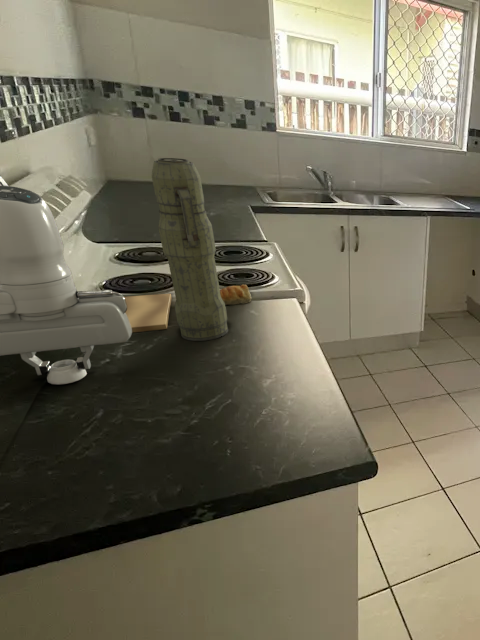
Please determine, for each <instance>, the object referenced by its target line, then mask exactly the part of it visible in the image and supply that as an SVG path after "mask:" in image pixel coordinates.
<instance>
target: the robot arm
mask: <svg viewBox="0 0 480 640" xmlns="http://www.w3.org/2000/svg"><path fill="white" fill-rule="evenodd" d="M64 250H65V246H64V243H63V238H62V235H61V232H60V229H59V227H58V224H57V220H56V219H55V217H54V214H53V212H52V210H51V208H50V206H49V205H48V204H47V202H46V201H45V199H44V198H43V197H42V196H41V195H39V194H38V193H36V192H34V191H32V190H29V189H26V188H22V187H17V186H12V185H9V184H8V183H7V182H6V181H5V179H4V178H3V177H2V176H1V175H0V356H10V355H20V358H21V360H22V361H24V362H25V363H27V364H28V365H29V366H31V367H33V368H34V369H35V372H36V375H37V376H45V375H48V374H49V371H50V369H51V362H50V360H45V361H43V360H42V359H41V358H39V357H38V356H36V354H37V352H38V353H39V352H49V351H59V350H65V349H75V348H79V349H80V352H81V353H84V354H83V356H79V357H77V358H76V360H75V362H76V365H77V366H78V370H86V371H87V370H90V369H91V367H92V364H91V359H90V356H91V354H92V352H93V350H94V348H95V346H103V345H104V346H105V345H113V344H123V343H127V342H128V341H129V340H130V338H131V337H132V334H133V333H132V328H131V325H130V322H129V319H128V317H127V315H126V311H127V304H126V300H125V298H124V297H125V296H124V295H123V294H121V293H119V292H117V291H113V290H112V289H101V290H83V291H82V290H79V291H78V290H77V287H76V283H75V280H74V276H73V273H72V270H71V268H70V266H69V265H68V264H67V262H66V260H65V257H64Z"/></svg>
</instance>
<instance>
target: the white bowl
mask: <svg viewBox="0 0 480 640" xmlns="http://www.w3.org/2000/svg"><path fill="white" fill-rule="evenodd" d="M50 366H51V369H50V371H49V374H47V376H46V380H47V383H49V384H51V385H69V384H72V383H75V382H78V381H80V380H82V379H83V378H85V377H86V376H87V374H88V373H87V369H86V370H78V366H77V365H76V360H74V359H62V360H57V361H55V362H54V363H52V364H50Z"/></svg>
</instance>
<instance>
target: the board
mask: <svg viewBox="0 0 480 640" xmlns="http://www.w3.org/2000/svg"><path fill="white" fill-rule="evenodd" d="M124 298H125V300H126V304H127V311H126V315H127V317H128V319H129V322H130V325H131V328H132V334H133V333H141V332H143V333H144V332H152V331H160V330H161V331H162V330H168V324H169V316H170V312H171V305H172V299H173V297H172V294H171V293H159V294H158V293H157V294H145V295H144V294H143V295H129V296H124Z"/></svg>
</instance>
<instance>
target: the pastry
mask: <svg viewBox="0 0 480 640" xmlns="http://www.w3.org/2000/svg"><path fill="white" fill-rule="evenodd" d="M220 295H221V298H222V300H223V301H224V303H225V306H228V305H229V306H230V305H240V304H241V305H242V304H243V305H244V304H248V303H250V302H251V301H252V294H251V292H250V289H249V287H248V285H247V284H241V285H229V286H226V287H223V288H221V289H220Z"/></svg>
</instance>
